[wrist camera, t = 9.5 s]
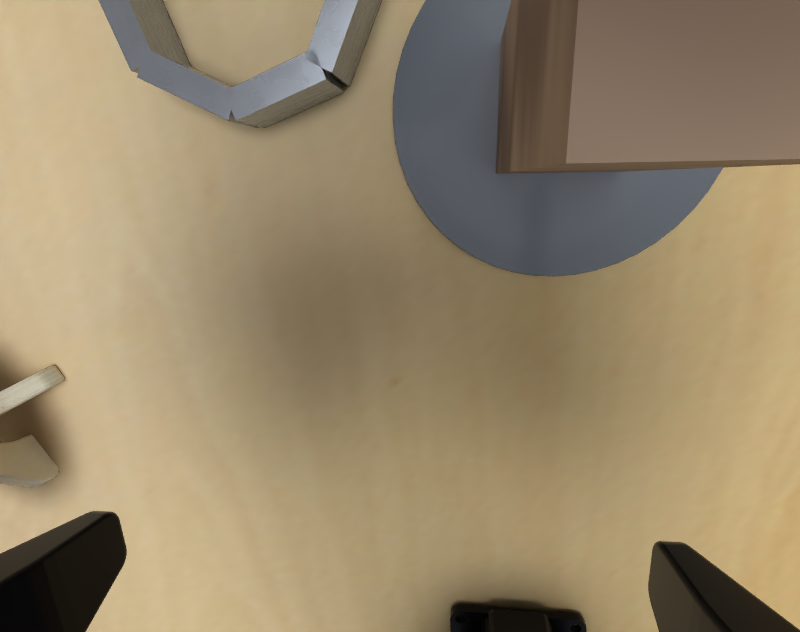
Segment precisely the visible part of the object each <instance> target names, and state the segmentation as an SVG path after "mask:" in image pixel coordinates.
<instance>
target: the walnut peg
mask: <svg viewBox="0 0 800 632" xmlns="http://www.w3.org/2000/svg"><path fill="white" fill-rule="evenodd" d="M790 164H800V0H511V4H510V7H509V11H508V15H507V19H506V23H505V27H504V31H503V35H502V39H501V50H500V76H499V102H498V128H497V154H496V174H510V173H569V172H623V171H647V170H671V169H695V168H719V167H742V166H766V165H790Z"/></svg>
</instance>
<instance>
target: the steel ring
mask: <svg viewBox="0 0 800 632" xmlns="http://www.w3.org/2000/svg"><path fill="white" fill-rule="evenodd" d="M381 1H382V0H325V1H324V4H323V7H322V10H321V13H320V16H319V19H318V21H317V24H316V27H315V30H314V33H313V36H312V39H311V42H310V45H309V48H308V51H307V52H305V53H303V54H301V55H299V56H297V57H295V58H293V59H290V60H288V61H286V62H284V63H282V64H280V65H278V66H276V67H274V68H272V69H270V70H267V71H265V72H263V73H261V74H259V75H257V76H255V77H253V78H251V79H249V80H246V81H244V82H242V83H240V84H238V85H236V86H234V87H232V86H230V85H228V84H226V83H224V82H221V81H219V80H217V79H215V78H213V77H211V76H209V75H207V74H205V73H203V72H200V71H198V70H196V69H194V68H192V67H191V65H190V63H189V61H188V58H187V56H186V54H185V51H184V49H183V47H182V45H181V42H180V40H179V38H178V35H177V33H176V31H175V28H174V26H173V24H172V21H171V19H170V17H169V14H168V12H167V10H166V8H165V5H164V3H163V1H162V0H99V2H100V4H101V6H102V9H103V11H104V13H105V15H106V17H107V19H108V22H109V24H110V26H111V28H112V30H113V33H114V35H115V37H116V39H117V41H118V43H119V46H120V48H121V50H122V52H123V54H124V56H125V59H126V61H127V63H128V65H129V67H130V69H131V71H133V72H137V73H138V76H137V77H138V78H140V79H142V80H144V81H146V82H148V83H150V84H152V85H154V86H157V87H159V88H161V89H163V90H165V91H167V92H169V93H171V94H173V95H175V96H178V97H180V98H182V99H184V100H186V101H188V102H190V103H192V104H194V105H196V106H199V107H201V108H203V109H205V110H207V111H209V112H211V113H213V114H215V115H217V116H220V117H222V118H224V119H226V120H228V121H232V122H236V123H240V124H244V125H248V126H253V127H257V128H258V126H259V127H263V128H266V127H268V126H270V125H272V124H275V123H277V122H279V121H281V120H283V119H286V118H288V117H290V116H292V115H295V114H297V113H299V112H301V111H304V110H306V109H308V108H310V107H312V106H315V105H317V104H319V103H321V102H324V101H326V100H328V99H330V98H332V97H335V96H337V95H339V94H341V93H344V90H343V88H342V85H341V83H343V84H345V85H347V86H350V84H351V81H352V78H353V76H354V73H355V70H356V68H357V65H358V62H359V60H360V57H361V54H362V52H363V49H364V46H365V44H366V41H367V38H368V36H369V33H370V30H371V28H372V25H373V22H374V20H375V17H376V14H377V12H378V9H379V6H380V4H381Z"/></svg>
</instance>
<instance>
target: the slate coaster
mask: <svg viewBox="0 0 800 632" xmlns="http://www.w3.org/2000/svg"><path fill="white" fill-rule="evenodd" d="M510 4H511V0H426V1H425V3H424V4H423V6H422V8H421V10H420V12H419V14H418V15H417V17H416V19H415V21H414V23H413V25H412V27H411V29H410V32H409V35H408V37H407V40H406V42H405V45H404V48H403V50H402V54H401V58H400V62H399V66H398V70H397V74H396V81H395V89H394V96H393V124H394V134H395V143H396V147H397V151H398V156H399V160H400V164H401V167H402V169H403V172H404V175H405V178H406V180H407V183H408V185H409V187H410V189H411V191H412V193H413V195H414V197H415V199H416V200H417V202H418V204H419V205H420V207H421V208H422V209H423V211H424V212H425V214H426V215H427V217H428V218H429V219H430V220H431V222H432V223H433V224H434V225H435V226H436V227H437V228H438V229H439V230H440V231H441V232H442V234H444V235H445V236H446V237H447V238H448V239H450V240H451V241H452V242H453V243H454V244H456V245H457V246H458V247H459V248H461V249H463V250H464V251H466V252H467V253H469V254H470V255H472V256H474V257H475V258H477V259H480V260H482V261H484V262H486V263H488V264H490V265H493V266H495V267H499V268H502V269H505V270H508V271H511V272H516V273H522V274H528V275H536V276H564V275H575V274H580V273H585V272H590V271H595V270H598V269H601V268H604V267H607V266H610V265H613V264H616V263H619V262H621V261H623V260H625V259H627V258H629V257H631V256H634V255H636V254H638V253H639V252H641V251H643V250H644V249H646V248H648V247H649V246H651V245H652V244H654V243H656V242H657V241H659V240H660V239H661V238H662V237H664V236H665V235H666V234H667V233H669V232H670V231H671V230H673V229H674V228H675V227H676V226H677V225H678V224H679V223H680V222H681V221H682V220H683V219H684V218H685V217H686V216H687V215H688V214H689V213H690V212H691V211H692V210H693V209H694V208H695V207H696V206H697V204H698V203H699V202H700V201H701V199H702V198H703V197H704V196H705V194H706V193H707V192H708V191H709V189H710V188H711V186H712V184H713V183H714V181H715V180H716V178H717V176H718V175H719V173H720V172H721V170H722V168H723V167H719V168H695V169H671V170H647V171H623V172H569V173H510V174H496V154H497V128H498V102H499V76H500V50H501V39H502V35H503V31H504V27H505V23H506V19H507V15H508V11H509V7H510Z"/></svg>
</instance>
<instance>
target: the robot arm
mask: <svg viewBox="0 0 800 632" xmlns="http://www.w3.org/2000/svg"><path fill="white" fill-rule="evenodd" d="M126 555H127V549H126V544H125V540H124V536H123V532H122V528H121V524H120V520H119V517H118V516H117V515H116V514H115V513H113V512H106V511H92V512H89V513H86V514H84V515H82V516H80V517H78V518H76V519H73V520H71V521H69V522H67V523H65V524H63V525H61V526H59V527H56V528H54V529H52V530H50V531H48V532H46V533H44V534H41V535H39V536H37V537H35V538H33V539H31V540H29V541H27V542H24V543H22V544H20V545H18V546H16V547H14V548H12V549H9V550H7V551H5V552H3V553H1V554H0V632H86V630H87V628H88V627H89V625H90V623H91V621H92V620H93V618H94V616H95V614H96V613H97V611H98V609H99V607H100V605H101V604H102V602H103V600H104V598H105V597H106V595H107V593H108V591H109V590H110V588H111V586H112V584H113V583H114V581H115V579H116V577H117V576H118V574H119V572H120V570H121V569H122V567H123V565H124V562H125V559H126ZM648 590H649V597H650V602H651V606H652V609H653V612H654V616H655V619H656V622H657V626H658V629H659V632H800V630H799V629H798V628H796V627H795V626H794V625H792V624H791V623H790V622H788V621H787V620H786V619H785V618H783V617H782V616H781V615H779V614H778V613H777V612H775V611H774V610H773V609H771V608H770V607H769V606H767V605H766V604H765V603H763V602H762V601H761V600H760V599H758V598H757V597H756V596H754V595H753V594H752V593H750V592H749V591H748V590H746V589H745V588H744V587H742V586H741V585H740V584H739V583H737V582H736V581H735V580H733V579H732V578H731V577H729V576H728V575H727V574H725V573H724V572H723V571H721V570H720V569H719V568H717V567H716V566H715V565H714V564H712V563H711V562H710V561H708V560H707V559H706V558H704V557H703V556H702V555H700V554H699V553H698V552H696V551H695V550H694V549H693V548H691V547H690V546H688V545H687V544H685V543H681V542H666V541H658V542H656V543H655V544H654V546H653V550H652V558H651V566H650V574H649V583H648ZM458 615H462V616H458ZM450 622H451V632H586V631H587V629H586V624H585V620H584V618H583V617H582V616H581V615H579V614H577V613H568V612H554V611H541V610H528V609H515V608H502V607H489V606H476V605H463V604H458V605H455V606H453V607H452V608H451V616H450ZM574 624H577V625H574Z"/></svg>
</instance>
